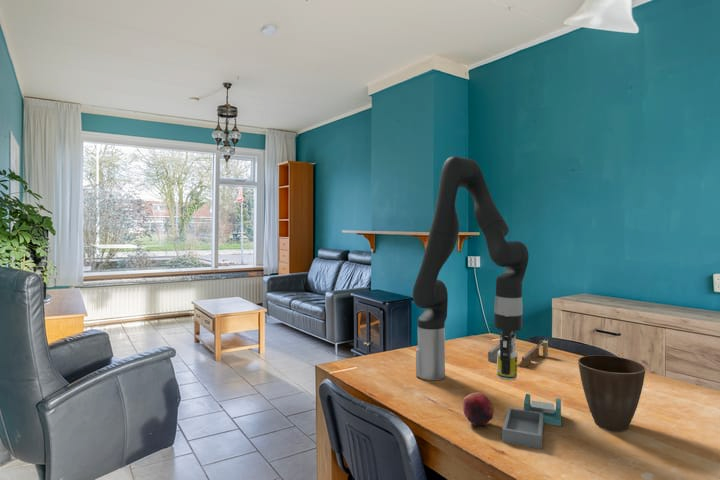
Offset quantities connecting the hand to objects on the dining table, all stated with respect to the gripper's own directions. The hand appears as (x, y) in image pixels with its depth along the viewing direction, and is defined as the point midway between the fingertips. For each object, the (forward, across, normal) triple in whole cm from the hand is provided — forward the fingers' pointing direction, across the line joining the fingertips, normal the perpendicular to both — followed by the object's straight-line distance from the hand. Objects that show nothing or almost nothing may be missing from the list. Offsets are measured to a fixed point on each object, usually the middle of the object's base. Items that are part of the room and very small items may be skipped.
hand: (506, 370), depth 123 cm
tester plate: (+8, +4, +10) cm, 13 cm away
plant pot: (+10, +2, +26) cm, 28 cm away
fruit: (+11, +15, -5) cm, 19 cm away
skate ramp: (+12, -47, +3) cm, 48 cm away
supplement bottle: (+2, 0, 0) cm, 2 cm away
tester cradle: (+10, +4, +10) cm, 15 cm away
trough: (+10, +15, +6) cm, 19 cm away
